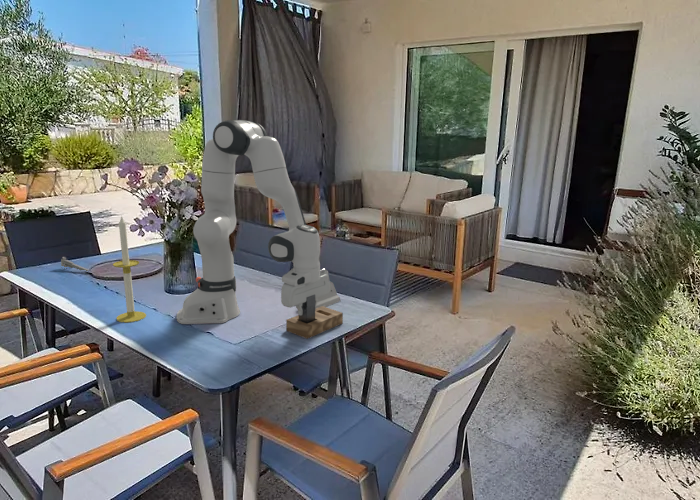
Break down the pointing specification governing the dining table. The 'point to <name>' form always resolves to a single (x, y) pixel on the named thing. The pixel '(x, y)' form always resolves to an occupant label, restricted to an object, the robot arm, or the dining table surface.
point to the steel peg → (308, 310)
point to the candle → (127, 278)
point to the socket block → (315, 323)
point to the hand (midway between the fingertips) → (306, 312)
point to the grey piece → (328, 298)
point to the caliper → (71, 264)
